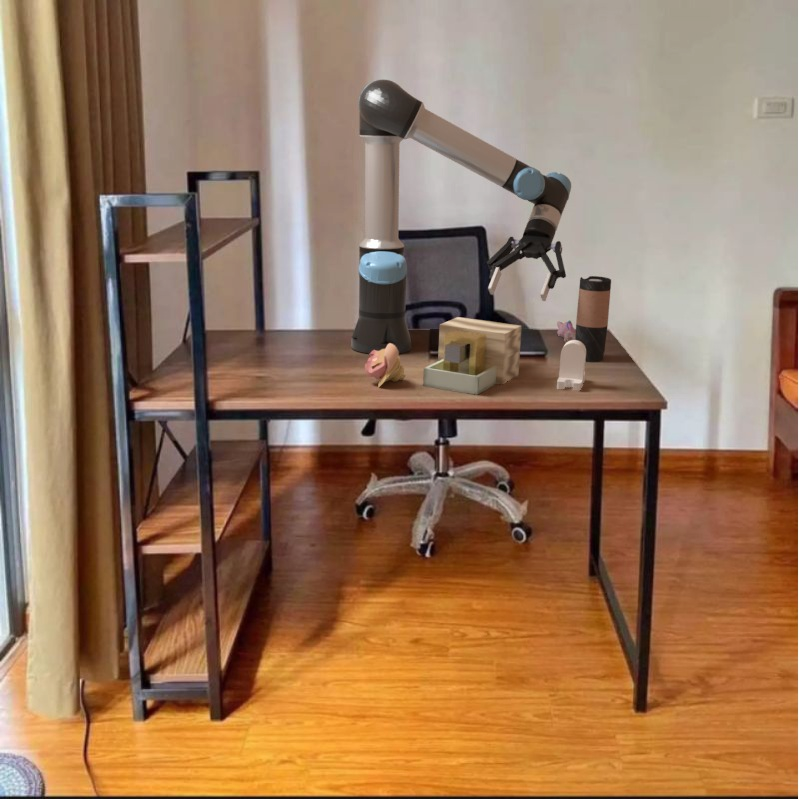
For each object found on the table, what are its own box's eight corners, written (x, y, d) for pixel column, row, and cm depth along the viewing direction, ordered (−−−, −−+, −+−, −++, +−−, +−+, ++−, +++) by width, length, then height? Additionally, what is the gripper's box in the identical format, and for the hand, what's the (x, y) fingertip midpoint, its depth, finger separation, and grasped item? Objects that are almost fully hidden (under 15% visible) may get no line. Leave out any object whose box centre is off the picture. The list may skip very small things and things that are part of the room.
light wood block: (455, 365, 243) (457, 317, 240) (518, 375, 236) (521, 325, 233) (437, 374, 234) (439, 324, 231) (502, 384, 227) (505, 333, 224)
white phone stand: (584, 380, 233) (588, 338, 230) (580, 391, 224) (584, 347, 221) (561, 378, 235) (565, 336, 232) (556, 389, 225) (559, 345, 223)
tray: (423, 385, 225) (423, 368, 224) (443, 375, 234) (444, 358, 233) (477, 394, 219) (478, 377, 218) (495, 383, 228) (496, 366, 227)
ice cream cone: (397, 377, 233) (419, 354, 227) (387, 407, 226) (410, 385, 220) (364, 356, 231) (385, 333, 224) (353, 386, 224) (375, 363, 217)
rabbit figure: (583, 350, 267) (572, 328, 281) (586, 329, 265) (575, 308, 278) (559, 350, 267) (550, 328, 280) (562, 329, 264) (552, 308, 278)
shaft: (494, 336, 245) (495, 322, 244) (507, 338, 244) (508, 324, 243) (444, 360, 221) (445, 345, 220) (459, 363, 220) (460, 347, 219)
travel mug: (604, 363, 249) (611, 282, 243) (572, 360, 250) (579, 280, 245) (604, 355, 256) (611, 277, 250) (573, 353, 258) (580, 275, 252)
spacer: (452, 370, 231) (454, 330, 228) (483, 375, 228) (485, 334, 225) (442, 375, 227) (444, 334, 224) (474, 380, 224) (476, 338, 221)
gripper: (492, 213, 260) (465, 279, 251) (587, 221, 249) (562, 291, 240) (499, 232, 266) (473, 297, 257) (591, 240, 255) (567, 309, 246)
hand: (516, 294), depth 249 cm, fingers open, 13 cm apart
